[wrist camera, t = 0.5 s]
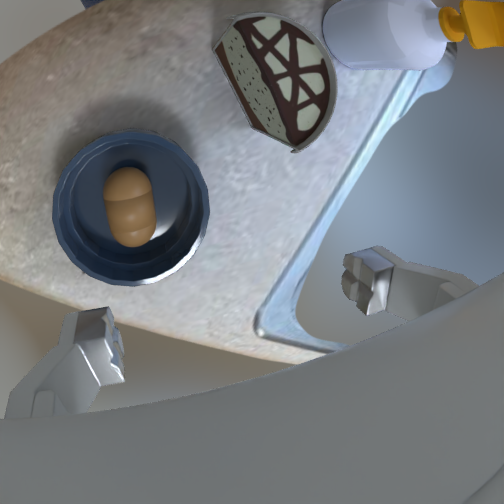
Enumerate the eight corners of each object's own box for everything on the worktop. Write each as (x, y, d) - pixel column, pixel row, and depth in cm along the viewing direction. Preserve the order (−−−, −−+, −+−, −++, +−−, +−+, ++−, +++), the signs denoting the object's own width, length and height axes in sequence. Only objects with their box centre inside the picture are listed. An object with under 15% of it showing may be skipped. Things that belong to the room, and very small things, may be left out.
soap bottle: (309, 7, 26) (514, -40, 6) (368, -2, 27) (551, -21, 7) (336, 77, 31) (547, 101, 10) (390, 61, 32) (573, 83, 11)
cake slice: (305, 116, 32) (362, 126, 24) (257, 140, 32) (302, 157, 23) (259, 16, 26) (306, -11, 17) (205, 37, 25) (234, 10, 17)
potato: (101, 167, 27) (95, 178, 23) (148, 158, 28) (149, 168, 25) (116, 239, 31) (113, 260, 27) (158, 231, 32) (162, 250, 28)
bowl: (52, 144, 25) (37, 152, 21) (193, 118, 29) (202, 121, 25) (82, 272, 32) (77, 297, 27) (205, 248, 35) (216, 270, 31)
